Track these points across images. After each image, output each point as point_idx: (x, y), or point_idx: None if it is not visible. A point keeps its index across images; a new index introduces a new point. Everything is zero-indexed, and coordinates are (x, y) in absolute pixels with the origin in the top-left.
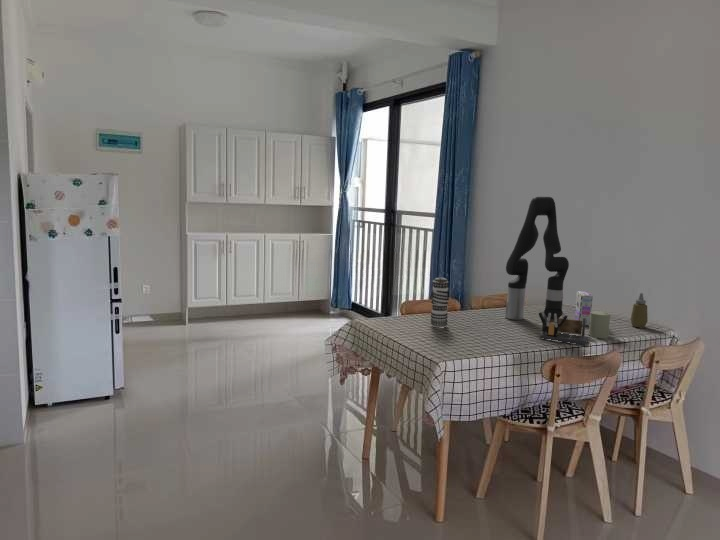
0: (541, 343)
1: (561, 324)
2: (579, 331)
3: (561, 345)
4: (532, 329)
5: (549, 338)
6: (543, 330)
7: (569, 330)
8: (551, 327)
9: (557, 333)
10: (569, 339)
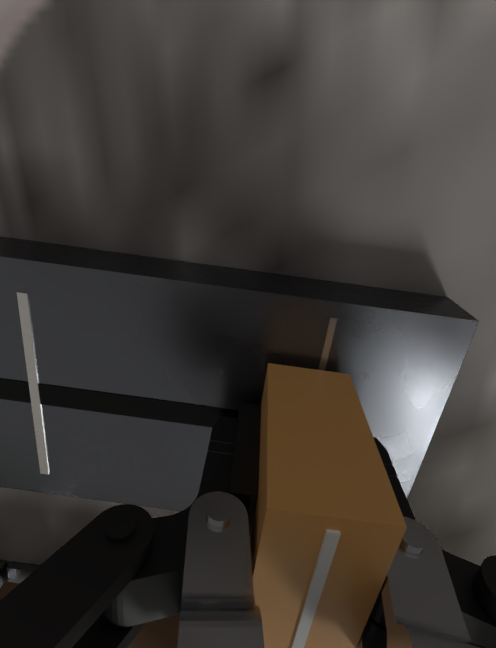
0: (465, 40)
1: (80, 553)
2: None
3: (132, 60)
4: None
5: (323, 291)
6: None
7: None
8: (322, 459)
9: None
10: (15, 256)
